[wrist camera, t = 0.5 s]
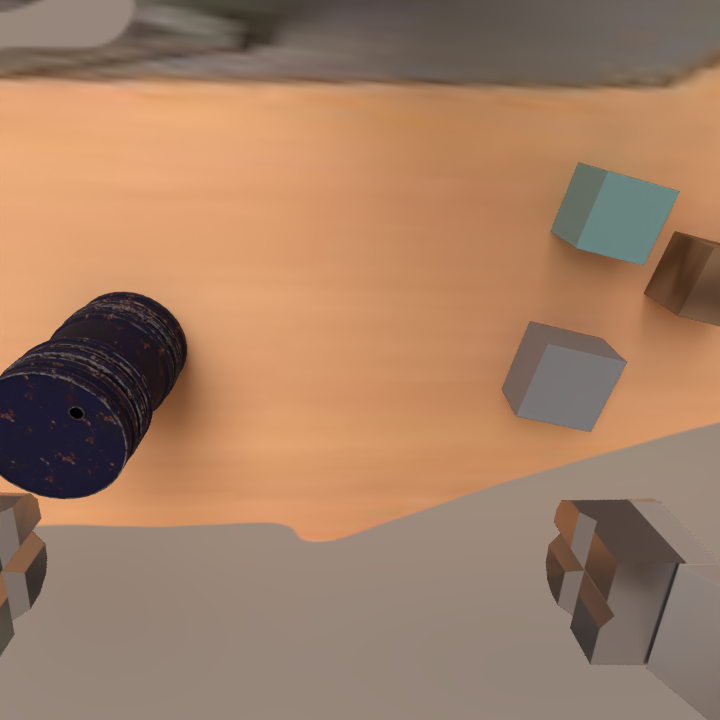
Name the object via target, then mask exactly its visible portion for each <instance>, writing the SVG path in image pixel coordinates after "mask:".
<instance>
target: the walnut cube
mask: <svg viewBox="0 0 720 720" xmlns="http://www.w3.org/2000/svg"><path fill="white" fill-rule="evenodd" d="M644 293H645V294H646V295H648V296H649V297H651V298H652V299H654V300H655V301H657V302H658V303H660V304H661V305H663V306H664V307H666V308H667V309H668V310H670V311H671V312H673V313H674V314H676V315H677V316H680V317H684V318H688V319H693V320H697V321H701V322H705V323H709V324H713V325H717V326H720V243H717V242H713V241H709V240H706V239H702V238H698V237H695V236H691V235H687V234H684V233H680V232H676V231H675V232H674V234H673V236H672V238H671V240H670V242H669V244H668V246H667V248H666V250H665V252H664V254H663V256H662V258H661V260H660V262H659V264H658V266H657V268H656V270H655V272H654V274H653V276H652V278H651V280H650V282H649V284H648V286H647V288H646V290H645V292H644Z"/></svg>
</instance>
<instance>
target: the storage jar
mask: <svg viewBox="0 0 720 720" xmlns="http://www.w3.org/2000/svg"><path fill="white" fill-rule="evenodd" d="M186 356H187V344H186V338H185V335H184V332H183V330H182V328H181V326H180V324H179V322H178V321H177V320H176V318H175V317H174V316H173V315H172V314H171V313H170V312H169V311H168V310H167V309H166V308H165V307H164V306H162V305H161V304H160V303H158V302H156V301H155V300H153V299H151V298H149V297H146V296H144V295H140V294H136V293H132V292H113V293H108V294H104V295H102V296H99V297H97V298H96V299H94V300H92V301H91V302H90V303H89V304H87V305H86V306H85V307H83V308H81V309H80V310H78V311H76V312H75V313H74V314H73V315H72V316H70V317H69V318H68V319H67V320H66V321H65V322H64V323H63V325H62V326H61V327H59V328H58V329H57V330H56V331H55V333H54V334H53V335H52V337H51V339H50V340H49V341H46V342H44V343H42V344H39V345H37V346H35V347H34V348H32V349H30V350H29V351H27V352H26V353H25V354H24V355H23V356H22V357H20V358H19V359H18V360H17V361H15V362H14V363H13V364H12V365H11V366H9V367H8V368H7V369H6V370H5V371H4V372H3V374H2V375H1V376H0V476H1V477H3V478H4V479H5V480H7V481H8V482H10V483H12V484H13V485H15V486H17V487H19V488H21V489H23V490H26V491H28V492H30V493H34V494H37V495H40V496H44V497H49V498H57V499H76V498H81V497H87V496H90V495H93V494H96V493H98V492H100V491H102V490H104V489H105V488H107V487H108V486H109V485H111V484H112V483H113V482H114V481H115V480H116V479H117V477H118V476H119V475H120V473H121V471H122V470H123V468H124V466H125V465H126V463H127V461H128V459H129V458H130V457H131V456H132V455H133V454H134V452H135V450H136V449H137V447H138V445H139V444H140V442H141V440H142V439H143V437H144V435H145V434H146V432H147V430H148V428H149V425H150V422H151V418H152V414H153V411H155V410H156V409H157V408H158V407H159V406H160V405H161V403H162V402H163V400H164V399H165V398H166V396H167V395H168V394H169V393H170V391H171V389H172V388H173V386H174V384H175V383H176V381H177V378H178V375H179V373H180V372H181V370H182V368H183V366H184V364H185V361H186Z"/></svg>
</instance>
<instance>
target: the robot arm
mask: <svg viewBox="0 0 720 720" xmlns="http://www.w3.org/2000/svg"><path fill="white" fill-rule="evenodd" d="M40 519H41V514H40V509H39V504H38V499H37V498H35V497H34V496H33V495H32V494H30V493H1V492H0V656H1V654H2V653H3V651H4V650H5V648H6V647H7V645H8V644H9V642H10V640H11V639H12V637H13V636H14V629H13V623H12V621H13V620H14V619H16V618H17V617H19V616H20V615H22V614H23V613H25V612H27V611H28V610H30V609H31V607H32V606H33V604H34V602H35V601H36V599H37V597H38V596H39V594H40V592H41V588H42V585H43V582H44V579H45V575H46V568H47V553H46V545H45V542H43V541H42V540H41V539H40V538H39V537H38V536H37V535H36V534H35V533H34V532H33V531H32V530H33V529H34V528H35V526H36V525H37V523H38V522H39V521H40ZM554 523H555V525H556V526H557V528H558V530H559V531H560V534H559V535H558V536H557V537H556V538H555V539H554V540H553V541H552V542H551V543H550V544H549V547H548V553H547V558H546V570H547V580H548V584H549V587H550V590H551V593H552V595H553V597H554V599H555V601H556V603H557V605H558V606H560V607H561V608H563V609H564V610H565V611H567V612H568V613H570V614H571V615H572V616H573V618H572V622H571V626H570V629H571V630H572V632H573V634H574V636H575V638H576V639H577V641H578V643H579V645H580V647H581V648H582V650H583V652H584V654H585V656H586V657H587V659H588V661H589V663H590V664H591V665H593V664H594V665H595V664H596V665H598V664H599V665H647V667H646V668H647V669H648V670H649V671H650V672H651V673H653V674H654V675H655V676H656V677H657V678H658V679H660V680H661V681H662V682H663V683H665V684H666V685H667V686H668V687H669V688H670V689H672V690H673V691H674V692H675V693H676V694H678V695H679V696H680V697H681V698H682V699H683V700H685V701H686V702H687V703H688V704H690V705H691V706H692V707H693V708H694V709H695V710H697V711H698V712H699V713H700V714H701V715H702V716H704V717H705V718H706V719H707V720H720V561H719V560H718V559H717V558H716V557H715V556H714V555H713V554H712V553H711V552H710V551H709V550H708V549H707V548H706V547H705V546H704V545H703V544H702V543H701V542H700V541H699V540H698V539H697V538H696V537H695V536H694V535H693V534H692V533H691V532H690V531H689V530H688V529H687V528H686V527H685V526H684V525H683V524H682V523H681V522H680V521H679V520H678V519H677V518H676V517H675V516H674V515H673V514H672V513H671V512H670V511H669V510H668V509H667V508H666V507H665V506H663V505H662V504H661V502H658V501H656V500H654V499H650V498H649V499H621V500H562V501H561V503H560V504H559V506H558V508H557V510H556V515H555V519H554Z"/></svg>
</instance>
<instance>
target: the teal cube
mask: <svg viewBox="0 0 720 720" xmlns="http://www.w3.org/2000/svg"><path fill="white" fill-rule="evenodd" d="M679 192H680V191H676V190H673V189H669V188H666V187H663V186H659V185H656V184H653V183H649V182H646V181H643V180H639V179H636V178H632V177H629V176H625V175H621V174H618V173H614V172H611V171H607V170H604V169H600V168H597V167H593V166H589V165H586V164H582V163H579V162H578V165H577V167H576V170H575V172H574V175H573V177H572V179H571V182H570V184H569V187H568V189H567V192H566V194H565V197H564V199H563V202H562V204H561V207H560V209H559V212H558V214H557V217H556V219H555V222H554V224H553V227H552V229H551V232H553V233H554V234H555V235H557V236H558V237H560V238H561V239H563V240H564V241H566V242H567V243H569V244H570V245H572V246H573V247H575V248H577V249H581V250H585V251H589V252H593V253H596V254H600V255H604V256H608V257H612V258H616V259H619V260H623V261H627V262H631V263H635V264H639V265H643V266H644V263H645V261H646V259H647V257H648V255H649V253H650V251H651V249H652V247H653V245H654V243H655V241H656V239H657V237H658V235H659V233H660V231H661V229H662V227H663V225H664V223H665V221H666V219H667V216H668V214H669V212H670V210H671V208H672V206H673V204H674V202H675V200H676V198H677V196H678V194H679Z"/></svg>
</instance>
